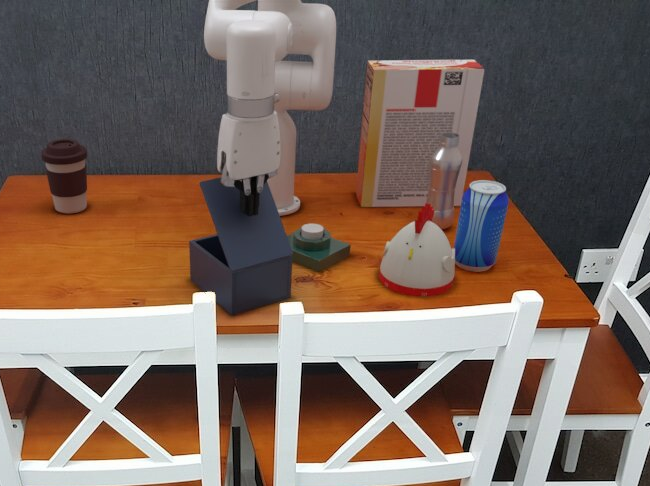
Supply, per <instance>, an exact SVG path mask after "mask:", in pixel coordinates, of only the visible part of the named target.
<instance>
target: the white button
mask: <svg viewBox="0 0 650 486" xmlns="http://www.w3.org/2000/svg"><path fill="white" fill-rule="evenodd" d="M301 228H302V229H301V237H303V238H306V239H311V240H316V239H321V238H323V232H324V229H325V228H324V226H323V225H322V224H319V223H314V222H313V223H312V222H311V223H310V222H309V223H306V224H303V225H301Z"/></svg>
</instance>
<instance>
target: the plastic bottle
mask: <svg viewBox="0 0 650 486" xmlns="http://www.w3.org/2000/svg"><path fill="white" fill-rule="evenodd" d="M439 144H440V146H439V147H438V148H437V149H436V150H435V151H434V152H433V154H432V155H431V157H430V161H429V164H430V165H429V173H430V178H429V190H428V195H427V199H426V203H428V204H431V207H433V209H432V210H435V211H434V215H433V219H432V222H433V223H435V224H436V225H437V226H438V227H439V228H440V229H441V230H446V229H448V228H450V226H452V224H453V222H454V219H455V206H454V193H455V187H456V183H457V179H458V175H459V172H460V169H461V166H462V157H461V154H460V152H459V150H458V149H457V146H458V145H459V134H456V133H451V132H446V133H442V134H441V136H440V140H439Z"/></svg>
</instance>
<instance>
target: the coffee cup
mask: <svg viewBox="0 0 650 486" xmlns="http://www.w3.org/2000/svg"><path fill="white" fill-rule="evenodd" d="M40 157H41V160H42V161H43V162H44V163H45V173H46V177H47V178H46V179H47V182H48V187H49V190H50V194H51V196H52V201H53V205H54V209H55V210H56V211H57V212H58V213H61V214H67V215H68V214H69V215H70V214H77V213H80V212H83V211H85V210H86V209H87V207H88V198H87V191H88V176H87V175H88V174H87V164H86V159H87V158H88V149H87V147H86V146H84V145H83V144H80V142H79V141H78V140H77V139H73V138H58V139H54V140H51V141H49V142H48V143H47V145H46V147H43V149H41V151H40Z"/></svg>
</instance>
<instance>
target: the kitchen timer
mask: <svg viewBox="0 0 650 486" xmlns="http://www.w3.org/2000/svg"><path fill="white" fill-rule="evenodd" d="M421 207H422V208H421V210H418V214H417V219H414V221H411V222H410V223H408V224H406V225H405V226H403V227H402V228H401V229H400V230H399V231H398V232H397V233H396V234H395V235H394V236H393V237H392V238H391V240H388V241H386V243H385V247H384V250H383V253H382V259H381V262H380V267H379V271H378V272H379V273H378V276H379V281H380V282H381V283H382V285H383V286H384V287H385V288H387V289H389V290H390V291H393V292H394V293H397V294H402V295H405V296H410V297H417V298H420V297H421V298H422V297H423V298H424V297H425V298H426V297H434V296H440V295H442V294H445V293H447V292H449V290H450V289H452V287H453V285H454V280H455V266H456V263H455V248H454V247H452V246H451V244H450V241H449V239H448V236H447V235H446V234H445V232H444V231H443V229H440V228H439V227H438V226H437V225H436V224H435V223H433V222H432V219H433V215H434V211H435V210H432V209H433V207H431V204H428V203H426V204H425V206H421Z"/></svg>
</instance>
